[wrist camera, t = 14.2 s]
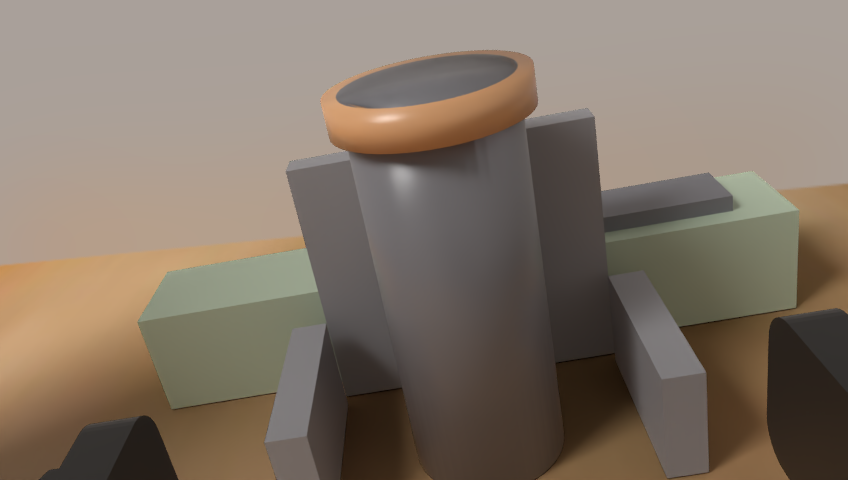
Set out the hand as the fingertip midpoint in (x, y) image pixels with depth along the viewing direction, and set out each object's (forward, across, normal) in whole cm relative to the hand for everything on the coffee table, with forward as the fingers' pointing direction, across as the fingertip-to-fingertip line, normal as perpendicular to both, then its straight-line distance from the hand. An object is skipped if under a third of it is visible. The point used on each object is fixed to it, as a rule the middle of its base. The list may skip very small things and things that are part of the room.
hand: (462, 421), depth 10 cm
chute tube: (+12, 0, +10) cm, 16 cm away
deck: (+15, 0, +10) cm, 18 cm away
